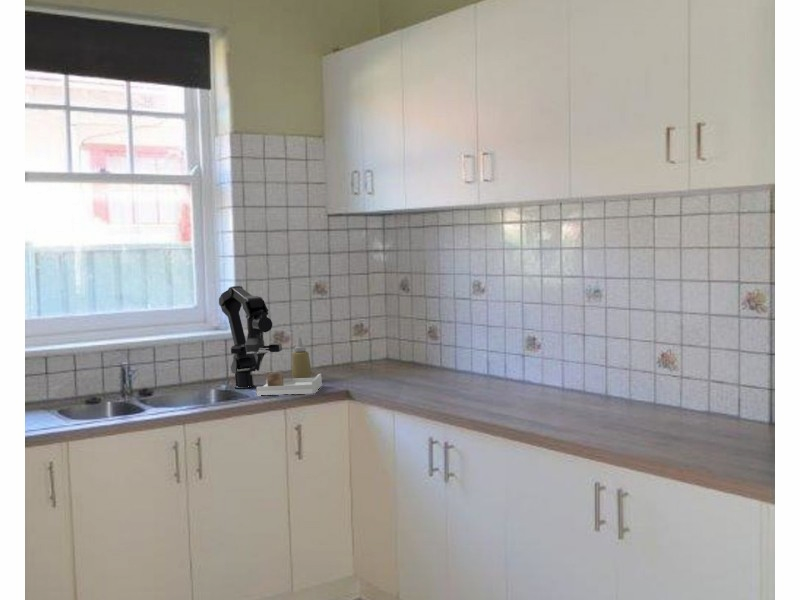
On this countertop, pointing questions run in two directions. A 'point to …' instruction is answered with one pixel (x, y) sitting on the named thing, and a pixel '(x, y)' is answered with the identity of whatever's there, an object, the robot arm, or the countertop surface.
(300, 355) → the squeeze bottle
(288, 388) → the board
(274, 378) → the block
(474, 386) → the countertop surface
